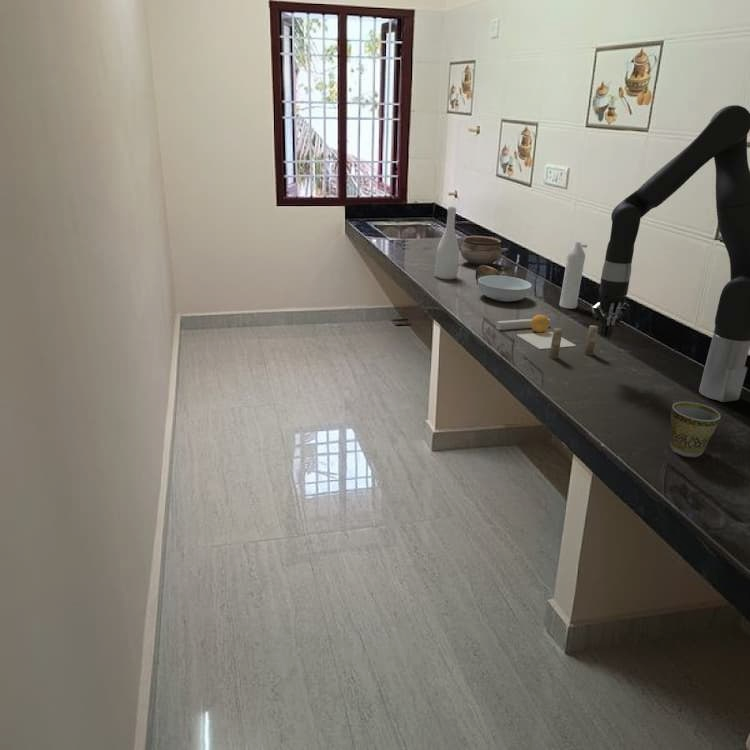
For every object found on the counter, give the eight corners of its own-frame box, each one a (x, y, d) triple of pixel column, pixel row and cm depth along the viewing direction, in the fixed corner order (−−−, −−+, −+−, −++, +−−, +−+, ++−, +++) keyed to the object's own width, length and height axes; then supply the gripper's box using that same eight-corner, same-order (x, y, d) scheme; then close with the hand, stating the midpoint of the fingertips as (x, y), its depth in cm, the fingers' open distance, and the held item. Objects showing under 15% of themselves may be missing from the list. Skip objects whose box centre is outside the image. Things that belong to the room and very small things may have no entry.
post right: (594, 354, 210) (600, 327, 206) (588, 355, 209) (593, 328, 205) (589, 352, 212) (594, 324, 208) (582, 352, 211) (587, 325, 208)
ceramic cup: (694, 465, 147) (705, 424, 143) (653, 446, 154) (663, 407, 150) (725, 450, 154) (736, 411, 150) (684, 433, 161) (694, 395, 158)
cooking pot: (502, 262, 327) (505, 237, 322) (508, 271, 309) (511, 245, 305) (451, 259, 327) (453, 234, 323) (454, 268, 310) (456, 241, 305)
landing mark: (576, 346, 217) (576, 345, 216) (539, 349, 212) (539, 348, 212) (551, 332, 229) (551, 331, 228) (516, 335, 224) (516, 334, 224)
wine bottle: (434, 274, 297) (440, 204, 286) (455, 275, 297) (462, 206, 286) (435, 279, 289) (441, 208, 277) (457, 280, 288) (464, 209, 277)
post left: (559, 358, 205) (564, 330, 202) (552, 359, 204) (557, 330, 201) (554, 355, 207) (559, 327, 204) (547, 356, 207) (552, 328, 203)
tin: (473, 282, 288) (476, 262, 284) (480, 281, 289) (482, 262, 286) (493, 291, 275) (496, 271, 272) (500, 291, 276) (502, 270, 273)
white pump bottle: (556, 304, 262) (566, 240, 252) (571, 304, 263) (582, 240, 254) (566, 310, 254) (577, 244, 244) (582, 310, 255) (593, 245, 246)
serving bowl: (505, 309, 252) (508, 291, 249) (465, 295, 267) (466, 278, 264) (540, 301, 264) (542, 284, 262) (499, 289, 279) (501, 272, 277)
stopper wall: (548, 326, 235) (550, 319, 234) (499, 330, 228) (500, 323, 227) (545, 324, 236) (546, 317, 236) (496, 328, 230) (497, 321, 229)
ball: (550, 334, 227) (553, 318, 224) (534, 336, 225) (538, 319, 222) (541, 327, 232) (544, 311, 229) (526, 328, 230) (529, 312, 227)
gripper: (605, 282, 180) (595, 343, 187) (643, 279, 185) (632, 339, 191) (587, 275, 187) (578, 335, 193) (625, 273, 191) (615, 331, 198)
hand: (605, 336), depth 192 cm, fingers closed
